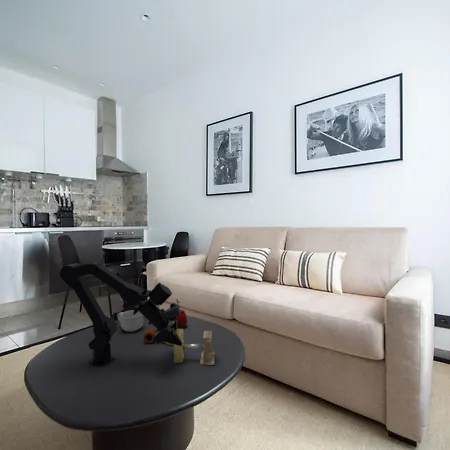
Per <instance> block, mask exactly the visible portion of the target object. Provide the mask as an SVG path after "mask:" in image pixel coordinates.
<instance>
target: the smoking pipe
mask: <svg viewBox="0 0 450 450" xmlns="http://www.w3.org/2000/svg"><path fill="white" fill-rule="evenodd" d="M156 330H157V329H156V328H155V327H150V328H148V329H146V331H144V334H143V341H144V342H145V343H147V344H151V343H153V342H154V336H155V335H156V333H157V332H156ZM162 343H164V344H166V345H169V346H174V344H171V343H168V342H164V341H163V342H162ZM183 344H185V342H184V341H183Z"/></svg>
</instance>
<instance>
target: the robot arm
mask: <svg viewBox="0 0 450 450" xmlns="http://www.w3.org/2000/svg"><path fill="white" fill-rule="evenodd" d="M58 275H59V277H60V279H61V280H62V282H63V283H64V285H66V286H68V287H69V288H71V289H72V290H73V291H74V293H75V295H76V296H77V298H78V300H79V302H80V303H81V305H82V307H83V308H84V309H83V310H85V312H86V314H87V316H88V318H89V319H90V321H91V323H92V332H93V335H94V337H93V339H92V340H91V341H90V342H89V343H88V348H89V350H92V352H91V353H92V355H91V356H92V359H90V360H88V363H90V364H92V365H95V366H97V367H102V366H103V365H104V364H105V365H106V364H107V363H109V362H111V361H113V360H115V357H113V356H112V349H111V343H110V342H111V341H112V340H113V338H114V337H115V336H116V335H117V333H118V322H116V321H115V318H114V316H112V315H111V316H109V317H108V316H107V315H106V314H105V313H104V311H103V309H102V307H101V306H100V304H99V303H98V301H97V299H96V298H95V296H94V294H93V292H92V290H91V289H90V287H89V285H88V283H87V276H88V275H92V276H93V277H96V279H98V280H99V281H101V282H102V283H104V284H105V285H106V286H108V287H110V288H111V289H113V290H114V291H115V292H117V294H118V295H119V296H120V298H121V299H122V300H123V301H124V302H125V303H126V304H127V305H129V306H133V310H134V312H133V315H135V314H136V313H137V312H138V311H139V312H140V313H141V314H142V315H143V318H145V319H146V320H147V321H148V322H147V324H148V325H152V326H153V328H156V329H157V330H156V332H157V333H156V335H155V336H154V341H153V342H154V343H155V344H156V345H159V344H160V343H165V342H168V343H171V344H175V345H178V346H181V345H182V342H181V341H180V340H179V338H178V337H177V336H176V334H175V333H174V332H175V329H179V328H178V327H177V320H176V321H175V322H174V321H173V320H174V319H176V318H177V317H178V316H179V315H180V313H181V310H182V309H181V308H180V307H181V305H179V303H178V304H177V303H175V302H172V303H170V304H169V307H168V309H166V310H165V309H164V308H159V307H158V306H162V305H163V304H164V303H165V302H167V300H168V299H169V298H170V297H171V296H172V295H173V292H172V290H171V289H170V288H169V286H166V285H165V284H162V283H161V282H160V281H159V282H158V283H156V285H155V286H154V287H153V289H151V290H150V289H148V290H147V289H144V288H142V287H140V286H138V285H136V284H134V283H130V282H128V281H126V280H123V278H121V277H119V276H118V275H116V274H115V273H113V272H112V271H111V270H109V269H108V268H107V267H105V266H103V265H102V264H101V263H100V262H99V261H95V262H91V263H86V264H80V263H77V262H76V263H72V264H68V265H63V267H62V268H61V269H60V270H59V274H58ZM146 299H147V300H146ZM180 309H181V310H180ZM184 339H185V338H184V337H183V341H185V340H184ZM163 341H164V342H163Z"/></svg>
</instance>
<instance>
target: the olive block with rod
mask: <svg viewBox="0 0 450 450" xmlns="http://www.w3.org/2000/svg"><path fill="white" fill-rule="evenodd" d="M174 333H175V334H176V336H177V337H178V338H179V340H180V341H181V342H182V345H181V346H178V345H175V344H174V345H173V363H175V364H177V363H178V364H179V363H180V364H181V363H183V361H184V354H185V353H184V350H203V343H184V344H183V342H184V340H183V338H184V328H178V329H175V332H174Z"/></svg>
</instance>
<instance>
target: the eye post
mask: <svg viewBox="0 0 450 450" xmlns="http://www.w3.org/2000/svg"><path fill="white" fill-rule="evenodd" d="M212 331H213V330H204V331H203V337H202V344H203V349H202V352H201V357H200V363H199V366H200V365H214V366H215V356H214V355H215V353H216V352H215V351H213V332H212Z"/></svg>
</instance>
